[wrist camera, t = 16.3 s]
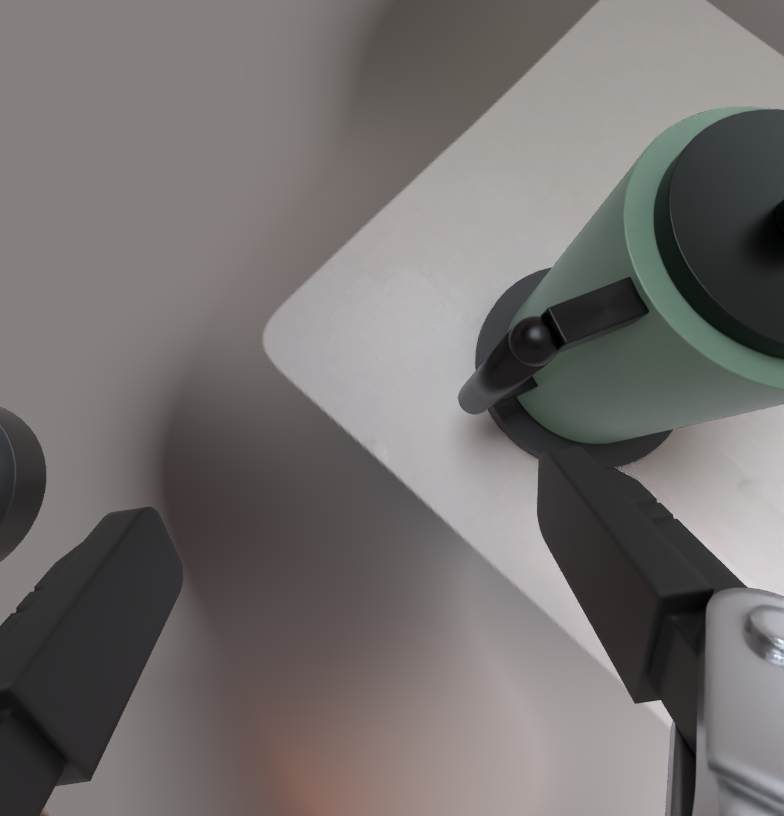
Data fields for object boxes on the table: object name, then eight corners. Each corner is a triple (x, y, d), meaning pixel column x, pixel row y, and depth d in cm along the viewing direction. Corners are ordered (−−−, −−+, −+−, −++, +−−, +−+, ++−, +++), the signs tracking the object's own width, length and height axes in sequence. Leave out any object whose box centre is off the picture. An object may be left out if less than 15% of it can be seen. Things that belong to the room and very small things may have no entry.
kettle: (486, 499, 25) (654, 502, 10) (414, 337, 27) (468, 142, 12) (752, 384, 27) (1198, 251, 13) (668, 243, 29) (971, -14, 14)
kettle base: (568, 514, 26) (577, 515, 25) (433, 344, 28) (436, 338, 27) (717, 389, 29) (731, 384, 27) (582, 239, 31) (591, 229, 29)
